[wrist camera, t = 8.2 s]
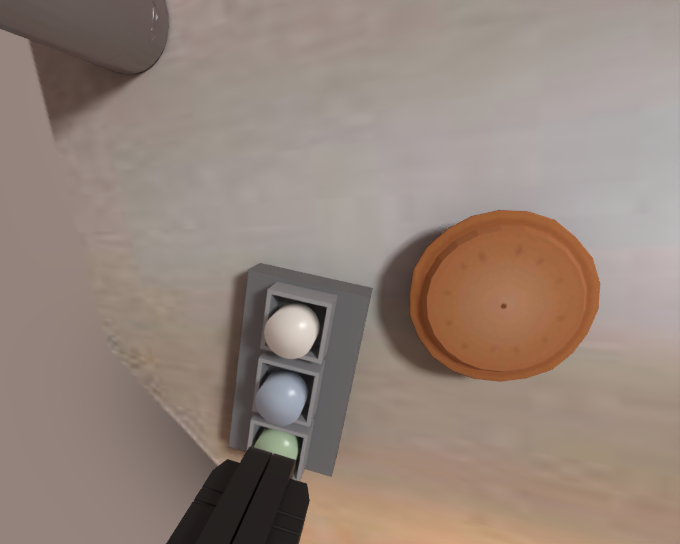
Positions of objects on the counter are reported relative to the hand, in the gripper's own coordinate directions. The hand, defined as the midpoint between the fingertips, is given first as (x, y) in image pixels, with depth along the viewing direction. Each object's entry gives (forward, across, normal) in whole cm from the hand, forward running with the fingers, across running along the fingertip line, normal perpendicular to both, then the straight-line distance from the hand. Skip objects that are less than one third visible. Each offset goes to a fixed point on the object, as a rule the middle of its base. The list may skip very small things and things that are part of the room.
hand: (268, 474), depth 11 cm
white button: (+22, +4, +5) cm, 23 cm away
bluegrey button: (+21, +4, +12) cm, 25 cm away
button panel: (+26, +4, +12) cm, 29 cm away
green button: (+23, +4, +19) cm, 30 cm away
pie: (+26, -13, -1) cm, 29 cm away
